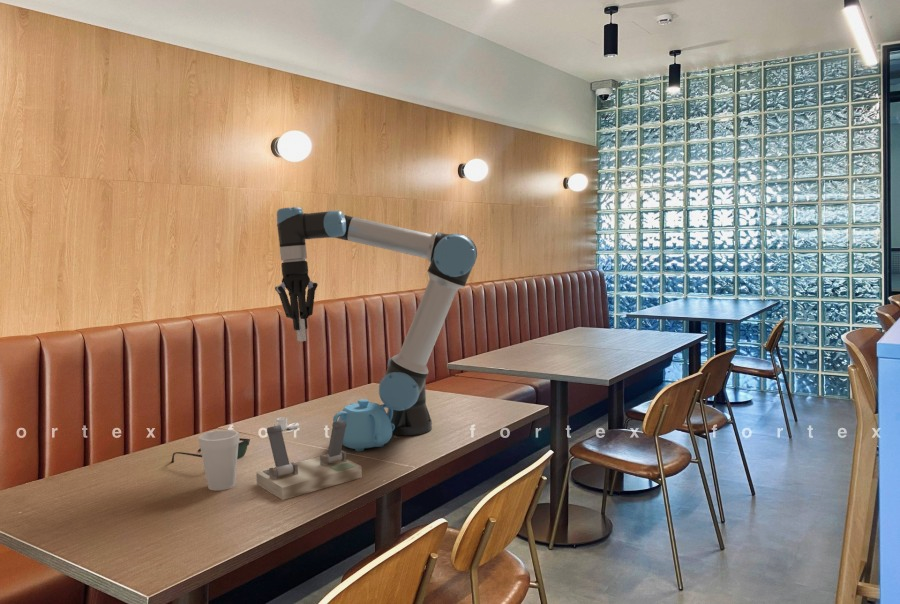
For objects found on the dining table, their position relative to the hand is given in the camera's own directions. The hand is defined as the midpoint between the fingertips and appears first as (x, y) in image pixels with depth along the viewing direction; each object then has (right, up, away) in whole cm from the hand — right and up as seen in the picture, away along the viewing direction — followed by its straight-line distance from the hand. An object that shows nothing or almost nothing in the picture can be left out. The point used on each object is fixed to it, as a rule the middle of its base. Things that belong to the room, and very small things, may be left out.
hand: (301, 340), depth 206 cm
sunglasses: (-24, -33, -11) cm, 42 cm away
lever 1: (+3, -31, -35) cm, 47 cm away
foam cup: (-13, -35, -32) cm, 49 cm away
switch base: (+8, -34, -29) cm, 46 cm away
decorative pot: (+19, -31, 0) cm, 36 cm away
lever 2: (+13, -30, -25) cm, 41 cm away
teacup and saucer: (-7, -30, +15) cm, 35 cm away
